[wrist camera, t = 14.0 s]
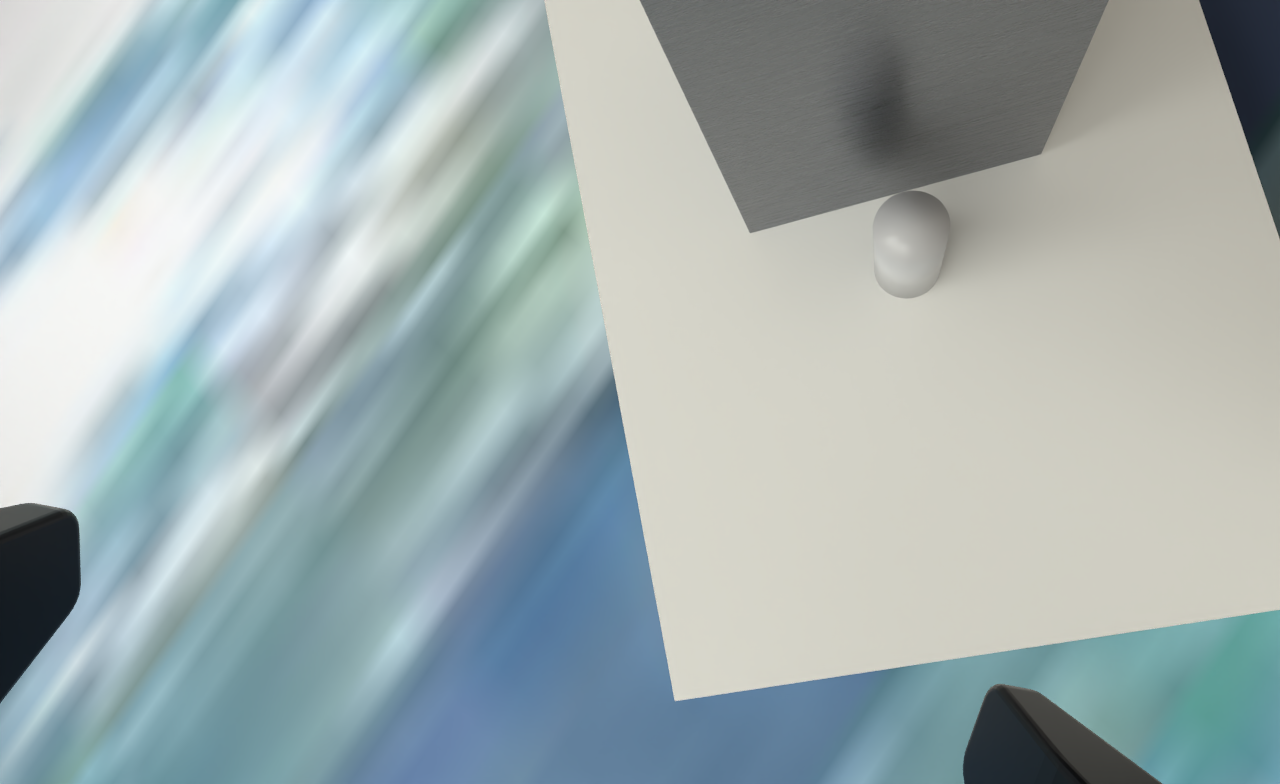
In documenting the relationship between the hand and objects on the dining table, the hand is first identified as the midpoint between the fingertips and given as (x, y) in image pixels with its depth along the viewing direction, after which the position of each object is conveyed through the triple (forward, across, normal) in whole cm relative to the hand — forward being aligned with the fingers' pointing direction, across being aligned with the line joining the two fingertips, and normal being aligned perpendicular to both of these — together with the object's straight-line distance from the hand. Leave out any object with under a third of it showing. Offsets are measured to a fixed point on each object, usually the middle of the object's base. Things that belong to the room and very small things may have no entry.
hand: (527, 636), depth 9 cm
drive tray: (+12, -4, -6) cm, 14 cm away
